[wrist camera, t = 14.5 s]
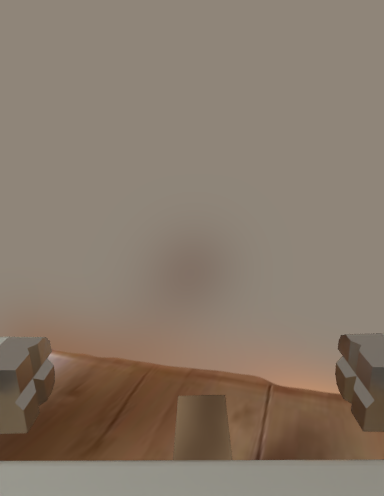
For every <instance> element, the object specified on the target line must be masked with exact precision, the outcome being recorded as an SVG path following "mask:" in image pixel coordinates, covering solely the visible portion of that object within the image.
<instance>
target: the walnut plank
mask: <svg viewBox="0 0 384 496" xmlns="http://www.w3.org/2000/svg"><path fill="white" fill-rule="evenodd" d="M173 460H232V452H231V444H230V435H229V426H228V417H227V409H226V400H225V395H201V396H178V404H177V416H176V429H175V442H174V454H173Z"/></svg>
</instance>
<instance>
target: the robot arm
mask: <svg viewBox="0 0 384 496" xmlns="http://www.w3.org/2000/svg"><path fill="white" fill-rule="evenodd" d="M338 350H339V351H340V353H341V354H342V355H343V356H342V357H341V358H340V359H339V361H338V362H337V363H336V373H335V375H336V381H337V386H338V389H339V391H340V393H341V395H342V397H343V399H345V400H347V401H348V402H350V403H351V404H352V406H351V412H352V414H353V415H354V417H355V419H356V420H357V422H358V424H359V425H360V427H361V429H362V430H363V431H368V432H384V333H376V334H347V335H341V337H340V339H339V343H338ZM51 352H52V351H51V346H50V341H49V340H48V339H47V338H46V337H0V434H12V433H28V431H29V430H30V428H31V426H32V425H33V423H34V421H35V420H36V418H37V417H38V415H39V413H40V412H39V406H40V405H41V404H43V403H44V402H46V401H47V400H48V398H49V396H50V395H51V393H52V389H53V386H54V382H55V371H54V365H53V364H52V363H51V362H50V361H49V360H48V359H47V358H48V356H49V355H50V353H51ZM0 496H384V460H136V461H0Z"/></svg>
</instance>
